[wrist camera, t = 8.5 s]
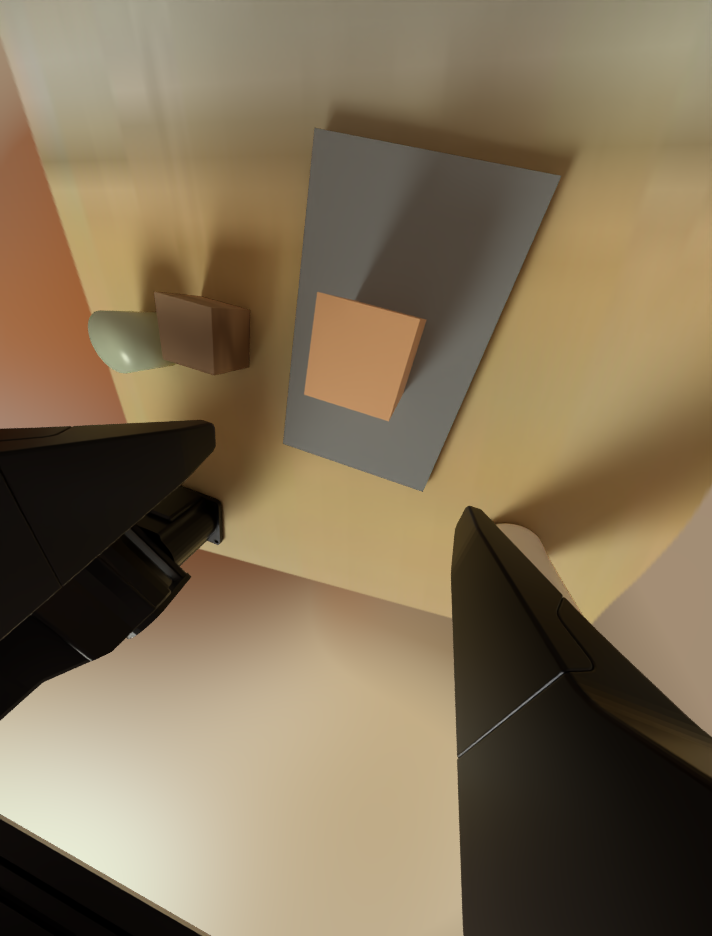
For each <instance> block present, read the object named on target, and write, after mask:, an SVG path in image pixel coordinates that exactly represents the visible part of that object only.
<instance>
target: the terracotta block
mask: <svg viewBox="0 0 712 936" xmlns="http://www.w3.org/2000/svg"><path fill="white" fill-rule="evenodd" d="M425 323H426V319H423V318H419V317H415V316H411V315H407V314H404V313H400V312H396V311H392V310H389V309H385V308H381V307H377V306H374V305H370V304H366V303H362V302H359V301H355V300H351V299H346V298H342V297H338V296H333V295H329V294H325V293H320V292H317V298H316V305H315V313H314V321H313V329H312V336H311V344H310V352H309V360H308V368H307V375H306V383H305V391H304V395H307V396H310V397H313V398H316V399H319V400H323V401H326V402H329V403H332V404H335V405H338V406H342V407H345V408H348V409H351V410H354V411H357V412H361V413H364V414H367V415H370V416H373V417H376V418H380V419H383V420H386V421H389V420H390V418H391V416H392V414H393V412H394V411H395V409H396V407H397V405H398V403H399V401H400V399H401V397H402V395H403V393H404V390H405V386H406V383H407V380H408V377H409V374H410V371H411V367H412V364H413V361H414V358H415V355H416V352H417V349H418V345H419V342H420V339H421V336H422V333H423V330H424V326H425Z"/></svg>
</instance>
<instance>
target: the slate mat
mask: <svg viewBox="0 0 712 936" xmlns="http://www.w3.org/2000/svg"><path fill="white" fill-rule="evenodd" d="M560 178H561V176H560V175H554V174H549V173H544V172H539V171H534V170H529V169H524V168H518V167H513V166H508V165H503V164H498V163H493V162H488V161H483V160H477V159H472V158H467V157H462V156H457V155H452V154H447V153H441V152H436V151H431V150H426V149H421V148H416V147H411V146H405V145H400V144H395V143H390V142H385V141H380V140H375V139H370V138H364V137H359V136H354V135H349V134H344V133H339V132H334V131H328V130H323V129H318V128H315V129H314V139H313V149H312V159H311V169H310V179H309V189H308V199H307V209H306V219H305V229H304V239H303V249H302V259H301V269H300V279H299V289H298V299H297V309H296V319H295V329H294V339H293V349H292V359H291V369H290V379H289V389H288V399H287V409H286V419H285V429H284V439H283V444H285V445H288V446H291V447H294V448H297V449H300V450H303V451H306V452H309V453H311V454H314V455H317V456H320V457H323V458H326V459H329V460H332V461H335V462H338V463H341V464H344V465H346V466H349V467H352V468H355V469H358V470H361V471H364V472H367V473H370V474H373V475H376V476H378V477H381V478H384V479H387V480H390V481H393V482H396V483H399V484H402V485H405V486H408V487H410V488H413V489H416V490H419V491H422V492H423V490H424V488H425V486H426V483H427V481H428V479H429V477H430V474H431V472H432V470H433V467H434V465H435V463H436V461H437V458H438V456H439V454H440V451H441V449H442V447H443V445H444V442H445V440H446V438H447V435H448V433H449V431H450V429H451V426H452V424H453V422H454V420H455V417H456V415H457V413H458V410H459V408H460V406H461V404H462V401H463V399H464V397H465V394H466V392H467V390H468V388H469V385H470V383H471V381H472V379H473V376H474V374H475V372H476V369H477V367H478V365H479V363H480V360H481V358H482V356H483V353H484V351H485V349H486V347H487V344H488V342H489V340H490V337H491V335H492V333H493V331H494V328H495V326H496V324H497V322H498V319H499V317H500V315H501V312H502V310H503V308H504V306H505V303H506V301H507V299H508V296H509V294H510V292H511V290H512V287H513V285H514V283H515V280H516V278H517V276H518V274H519V271H520V269H521V267H522V265H523V262H524V260H525V258H526V255H527V253H528V251H529V249H530V246H531V244H532V242H533V239H534V237H535V235H536V233H537V230H538V228H539V226H540V223H541V221H542V219H543V217H544V214H545V212H546V210H547V208H548V205H549V203H550V201H551V198H552V196H553V194H554V192H555V189H556V187H557V185H558V182H559V180H560ZM317 292H320V293H325V294H329V295H333V296H338V297H342V298H346V299H351V300H355V301H359V302H362V303H366V304H370V305H374V306H377V307H381V308H385V309H389V310H392V311H396V312H400V313H404V314H407V315H411V316H415V317H419V318H423V319H426V323H425V326H424V330H423V333H422V336H421V339H420V342H419V345H418V349H417V352H416V355H415V358H414V361H413V364H412V367H411V371H410V374H409V377H408V380H407V383H406V386H405V390H404V393H403V395H402V397H401V399H400V401H399V403H398V405H397V407H396V409H395V411H394V412H393V414H392V416H391V418H390V420H389V421H386V420H383V419H380V418H376V417H373V416H370V415H367V414H364V413H361V412H357V411H354V410H351V409H348V408H345V407H342V406H338V405H335V404H332V403H329V402H326V401H323V400H319V399H316V398H313V397H310V396H307V395H304V391H305V383H306V375H307V368H308V360H309V352H310V344H311V336H312V329H313V321H314V313H315V305H316V298H317Z"/></svg>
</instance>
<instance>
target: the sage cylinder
mask: <svg viewBox="0 0 712 936" xmlns="http://www.w3.org/2000/svg"><path fill="white" fill-rule="evenodd" d="M88 332H89V337H90V340H91V343H92V345H93V347H94V349H95V351H96V352H97V354H98V355H99V357H100V358H101V359H102V360H103V361H104V362H105V363H106V364H107V365H108V366H109V367H110V368H112V369H113V370H115V371H117V372H120V373H131V372H137V371H143V370H149V369H155V368H161V367H167V366H172V365H175V364H176V363H173V362H170V361H167V360H164V359H163V356H162V349H161V341H160V334H159V327H158V319H157V312H134V311H96V312H94V313H93V314H92V315H91V316H90V318H89V322H88Z"/></svg>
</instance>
